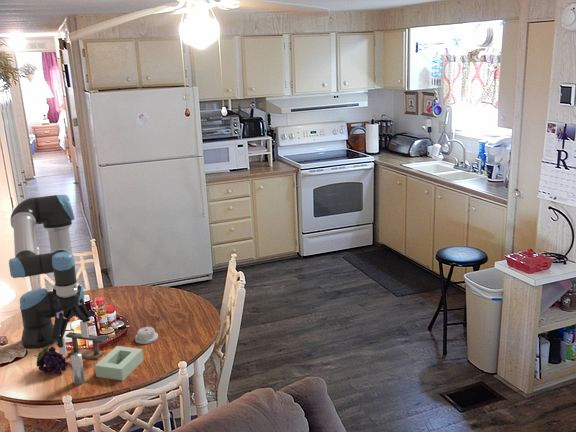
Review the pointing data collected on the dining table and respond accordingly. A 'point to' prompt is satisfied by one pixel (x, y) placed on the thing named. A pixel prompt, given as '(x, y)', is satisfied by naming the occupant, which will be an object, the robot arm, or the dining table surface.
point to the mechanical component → (146, 335)
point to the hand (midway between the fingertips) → (74, 345)
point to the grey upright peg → (77, 368)
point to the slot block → (119, 363)
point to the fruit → (51, 361)
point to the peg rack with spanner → (86, 353)
